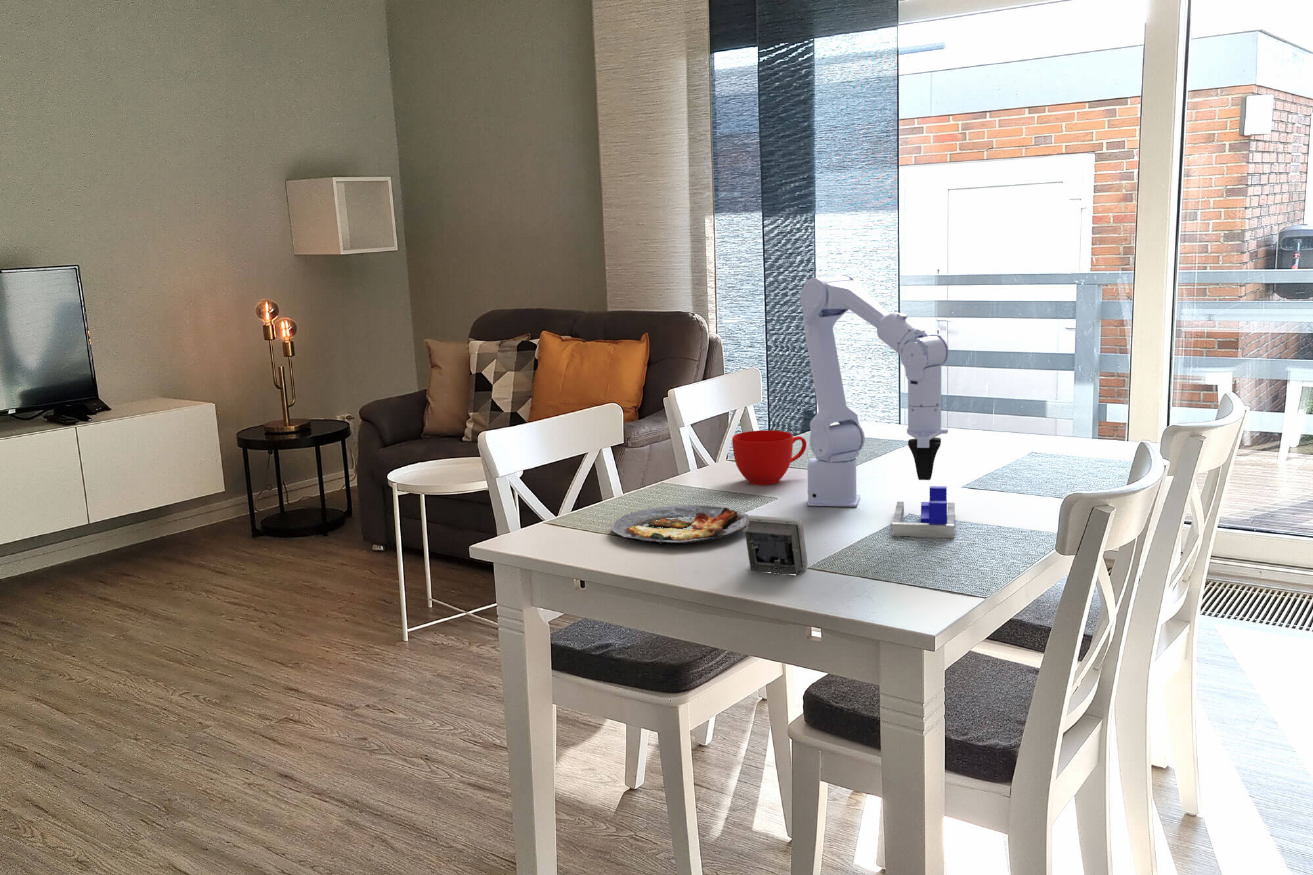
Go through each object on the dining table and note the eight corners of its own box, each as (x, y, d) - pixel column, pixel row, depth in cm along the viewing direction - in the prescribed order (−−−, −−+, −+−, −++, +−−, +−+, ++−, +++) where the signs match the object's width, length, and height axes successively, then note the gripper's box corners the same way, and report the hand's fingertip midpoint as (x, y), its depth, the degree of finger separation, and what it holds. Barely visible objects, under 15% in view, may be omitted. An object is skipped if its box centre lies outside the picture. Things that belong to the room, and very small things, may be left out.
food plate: (770, 521, 202) (769, 502, 201) (713, 558, 182) (711, 538, 182) (655, 512, 215) (654, 495, 214) (590, 546, 195) (588, 527, 194)
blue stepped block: (921, 517, 200) (921, 486, 199) (946, 518, 199) (946, 486, 198) (920, 536, 189) (920, 502, 188) (946, 536, 188) (947, 503, 186)
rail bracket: (892, 536, 189) (892, 524, 188) (897, 512, 203) (897, 501, 203) (953, 538, 186) (954, 525, 186) (954, 514, 200) (954, 502, 200)
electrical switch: (808, 569, 173) (805, 515, 171) (799, 582, 169) (795, 527, 166) (753, 564, 177) (750, 511, 175) (742, 577, 173) (738, 522, 170)
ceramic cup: (821, 481, 230) (820, 435, 229) (750, 491, 224) (748, 444, 223) (792, 469, 242) (790, 426, 240) (723, 479, 236) (722, 434, 234)
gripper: (947, 411, 183) (947, 489, 186) (948, 397, 197) (948, 470, 199) (904, 411, 185) (905, 488, 188) (908, 397, 199) (908, 469, 201)
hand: (924, 479), depth 194 cm, fingers closed
